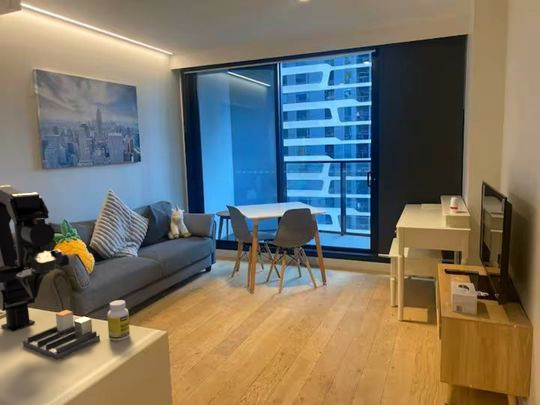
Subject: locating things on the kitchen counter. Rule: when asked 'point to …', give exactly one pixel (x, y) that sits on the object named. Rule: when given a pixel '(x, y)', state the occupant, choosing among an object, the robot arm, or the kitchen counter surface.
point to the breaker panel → (63, 339)
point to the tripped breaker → (64, 320)
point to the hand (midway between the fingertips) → (34, 298)
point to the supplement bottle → (118, 321)
